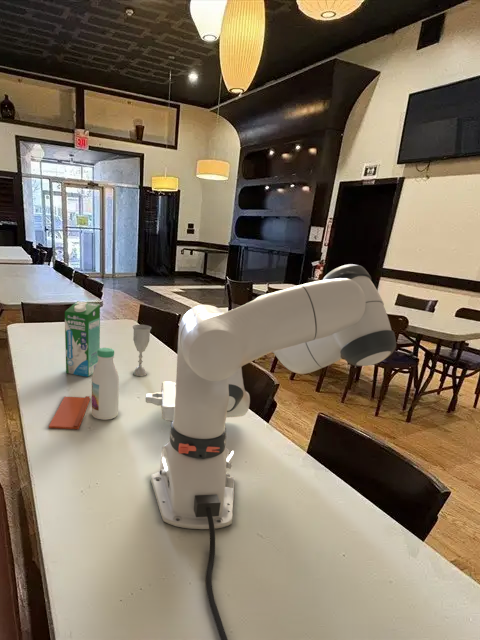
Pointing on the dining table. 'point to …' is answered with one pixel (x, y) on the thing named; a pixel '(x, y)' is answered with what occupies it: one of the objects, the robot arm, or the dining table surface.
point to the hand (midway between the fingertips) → (145, 397)
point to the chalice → (141, 345)
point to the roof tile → (70, 413)
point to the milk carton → (82, 338)
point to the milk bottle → (105, 386)
